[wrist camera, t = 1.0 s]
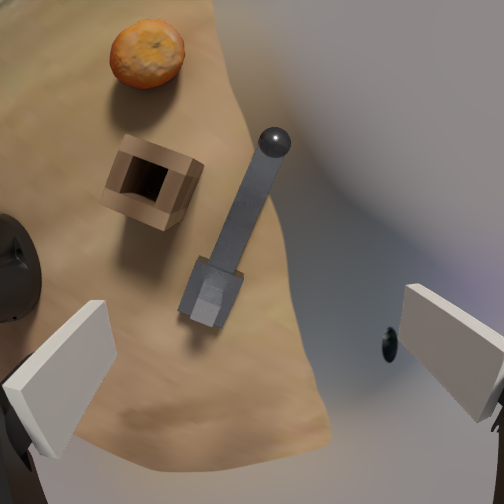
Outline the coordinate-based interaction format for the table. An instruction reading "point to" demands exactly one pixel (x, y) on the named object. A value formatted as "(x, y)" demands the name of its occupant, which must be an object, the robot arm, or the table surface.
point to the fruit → (147, 54)
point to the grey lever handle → (234, 237)
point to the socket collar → (138, 179)
